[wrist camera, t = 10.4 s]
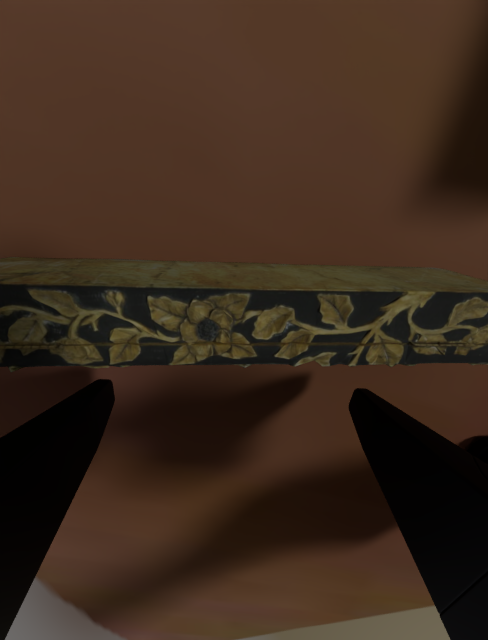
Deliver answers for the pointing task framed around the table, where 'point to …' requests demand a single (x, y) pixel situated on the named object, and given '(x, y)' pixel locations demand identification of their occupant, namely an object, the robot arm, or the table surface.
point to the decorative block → (236, 314)
